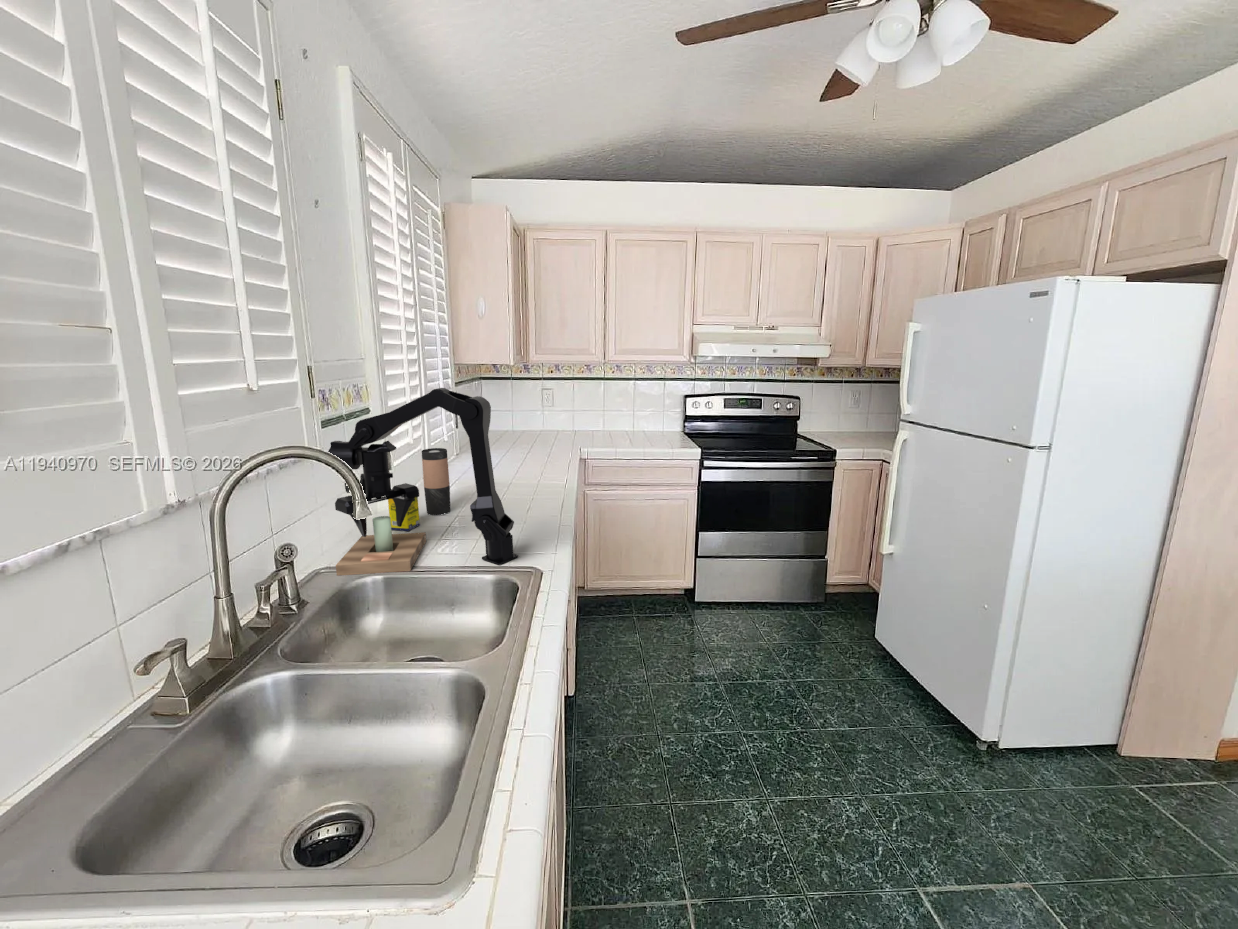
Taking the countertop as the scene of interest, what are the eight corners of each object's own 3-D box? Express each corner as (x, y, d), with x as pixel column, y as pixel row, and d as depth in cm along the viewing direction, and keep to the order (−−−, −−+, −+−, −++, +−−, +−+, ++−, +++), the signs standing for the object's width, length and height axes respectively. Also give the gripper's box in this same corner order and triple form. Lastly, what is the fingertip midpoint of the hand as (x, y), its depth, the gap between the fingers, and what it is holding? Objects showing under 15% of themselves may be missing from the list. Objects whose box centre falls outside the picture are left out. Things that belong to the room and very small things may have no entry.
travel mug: (456, 509, 171) (452, 448, 167) (442, 516, 164) (437, 453, 160) (435, 507, 173) (431, 447, 169) (420, 514, 166) (415, 451, 162)
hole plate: (363, 544, 140) (362, 534, 140) (426, 541, 143) (425, 531, 142) (336, 575, 121) (335, 564, 121) (410, 571, 124) (409, 560, 123)
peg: (397, 556, 133) (393, 518, 130) (382, 561, 129) (378, 522, 127) (388, 552, 135) (384, 515, 133) (373, 557, 132) (369, 519, 130)
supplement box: (408, 531, 150) (405, 494, 148) (389, 530, 152) (386, 493, 149) (420, 525, 156) (417, 489, 154) (402, 523, 157) (399, 488, 155)
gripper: (392, 459, 139) (397, 516, 143) (319, 472, 124) (327, 535, 128) (418, 464, 133) (422, 523, 136) (344, 478, 118) (351, 545, 121)
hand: (382, 531), depth 131 cm, fingers open, 9 cm apart
